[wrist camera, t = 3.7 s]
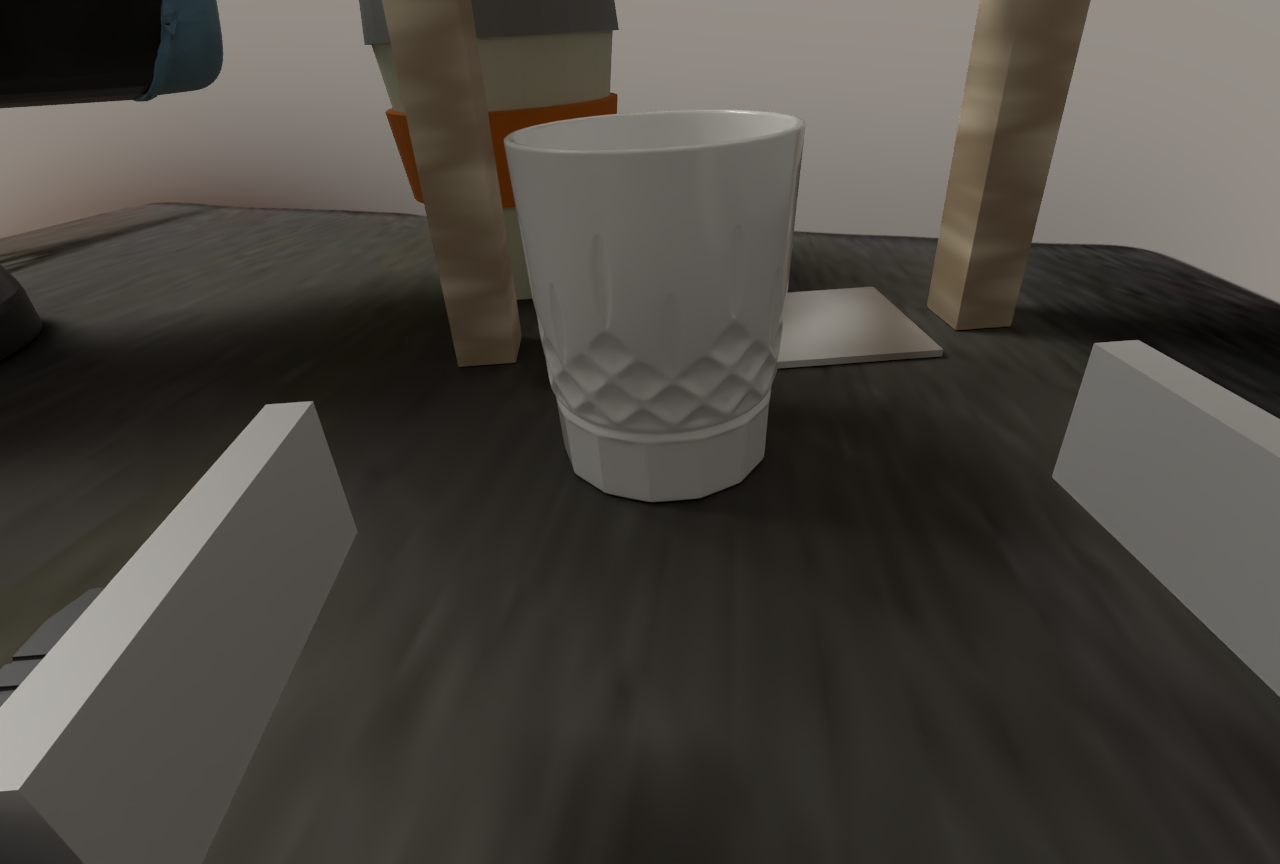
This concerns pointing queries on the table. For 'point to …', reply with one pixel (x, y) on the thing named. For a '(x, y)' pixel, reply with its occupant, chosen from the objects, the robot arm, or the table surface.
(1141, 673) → the table surface
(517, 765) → the table surface
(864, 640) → the table surface
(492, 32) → the reusable coffee cup
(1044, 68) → the bridge
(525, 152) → the white cup
